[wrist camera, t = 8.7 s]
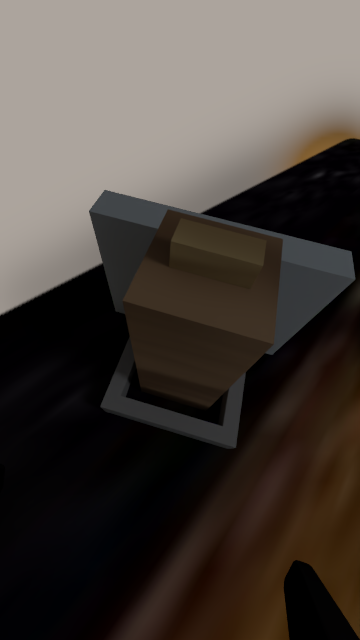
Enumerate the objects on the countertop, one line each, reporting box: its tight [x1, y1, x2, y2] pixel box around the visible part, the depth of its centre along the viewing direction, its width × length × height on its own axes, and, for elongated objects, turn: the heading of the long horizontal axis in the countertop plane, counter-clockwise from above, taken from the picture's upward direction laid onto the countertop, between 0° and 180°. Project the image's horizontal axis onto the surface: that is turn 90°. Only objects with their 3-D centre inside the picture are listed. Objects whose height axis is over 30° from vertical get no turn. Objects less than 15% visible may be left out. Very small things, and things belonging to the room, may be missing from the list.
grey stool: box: [89, 190, 355, 449], centre depth 15 cm, size 10×14×10 cm
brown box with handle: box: [123, 209, 283, 411], centre depth 14 cm, size 5×5×13 cm
